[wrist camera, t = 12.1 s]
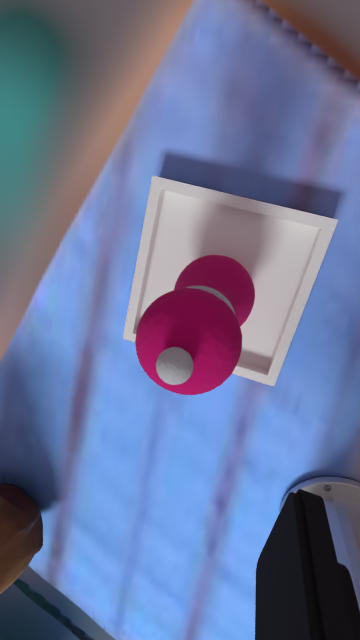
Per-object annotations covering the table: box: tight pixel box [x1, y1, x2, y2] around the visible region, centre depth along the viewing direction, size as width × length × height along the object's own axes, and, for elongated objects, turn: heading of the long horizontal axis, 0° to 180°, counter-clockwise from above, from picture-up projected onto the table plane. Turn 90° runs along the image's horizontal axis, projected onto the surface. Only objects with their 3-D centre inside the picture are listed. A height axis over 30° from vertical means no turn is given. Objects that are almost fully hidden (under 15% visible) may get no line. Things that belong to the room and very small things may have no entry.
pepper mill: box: [135, 255, 255, 395], centre depth 24 cm, size 7×7×20 cm
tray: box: [123, 176, 338, 387], centre depth 33 cm, size 17×17×2 cm
